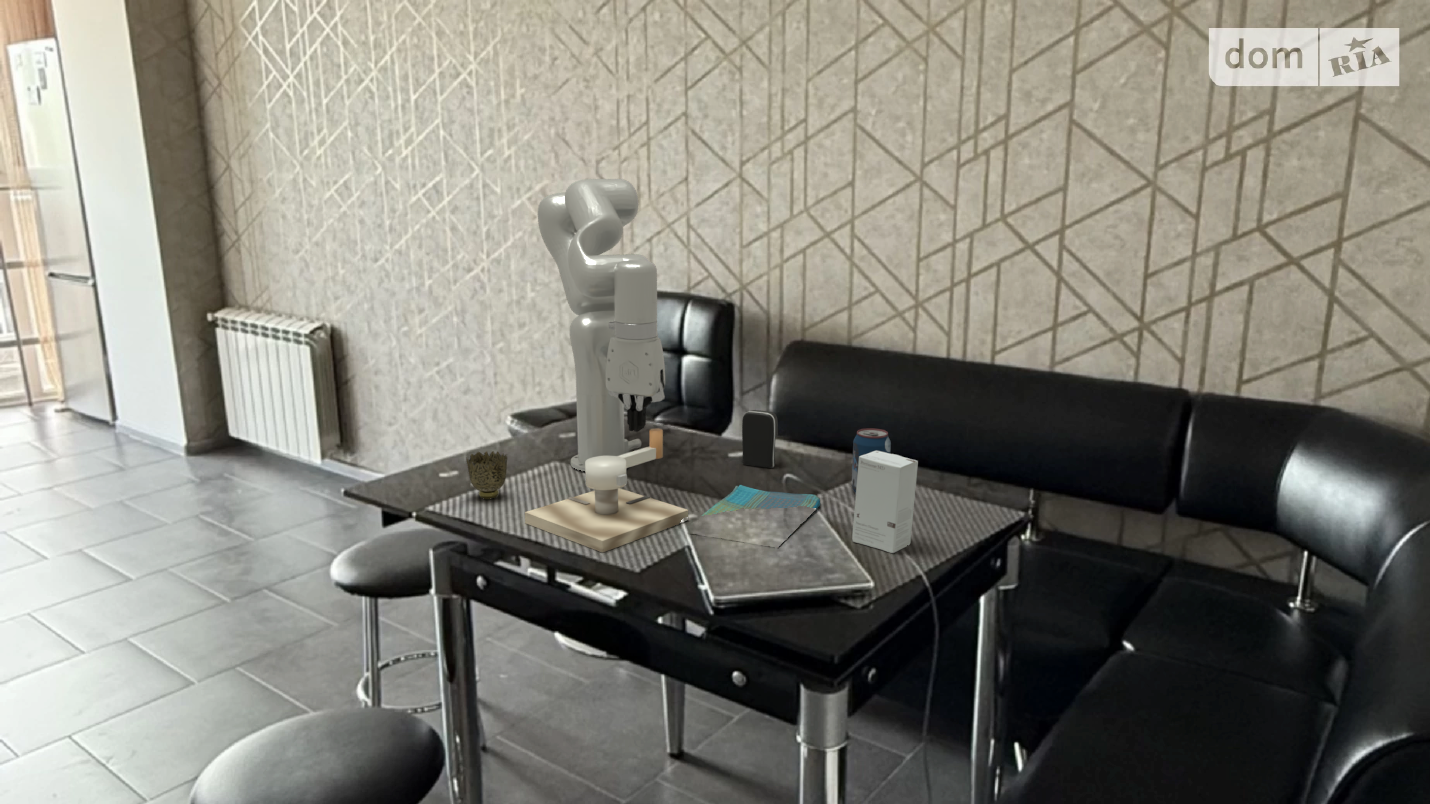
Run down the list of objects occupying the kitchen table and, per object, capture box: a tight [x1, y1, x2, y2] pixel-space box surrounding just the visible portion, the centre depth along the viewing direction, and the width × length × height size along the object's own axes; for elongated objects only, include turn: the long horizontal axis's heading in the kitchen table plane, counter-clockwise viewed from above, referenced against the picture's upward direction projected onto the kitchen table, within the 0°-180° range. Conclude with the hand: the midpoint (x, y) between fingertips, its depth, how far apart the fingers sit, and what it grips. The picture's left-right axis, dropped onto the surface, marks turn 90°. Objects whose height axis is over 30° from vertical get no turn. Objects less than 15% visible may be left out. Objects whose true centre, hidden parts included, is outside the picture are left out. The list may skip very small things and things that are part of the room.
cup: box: [465, 450, 508, 500], centre depth 193 cm, size 8×7×8 cm
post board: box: [524, 488, 689, 553], centre depth 180 cm, size 20×20×7 cm
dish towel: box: [701, 484, 821, 516], centre depth 183 cm, size 17×23×2 cm
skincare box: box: [851, 451, 919, 554], centre depth 170 cm, size 8×6×15 cm
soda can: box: [851, 427, 892, 495], centre depth 195 cm, size 7×7×12 cm
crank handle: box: [585, 427, 664, 490], centre depth 183 cm, size 9×17×7 cm, turn 139°
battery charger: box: [741, 409, 779, 469], centre depth 213 cm, size 7×4×11 cm, turn 66°
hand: (636, 429), depth 190 cm, fingers closed
